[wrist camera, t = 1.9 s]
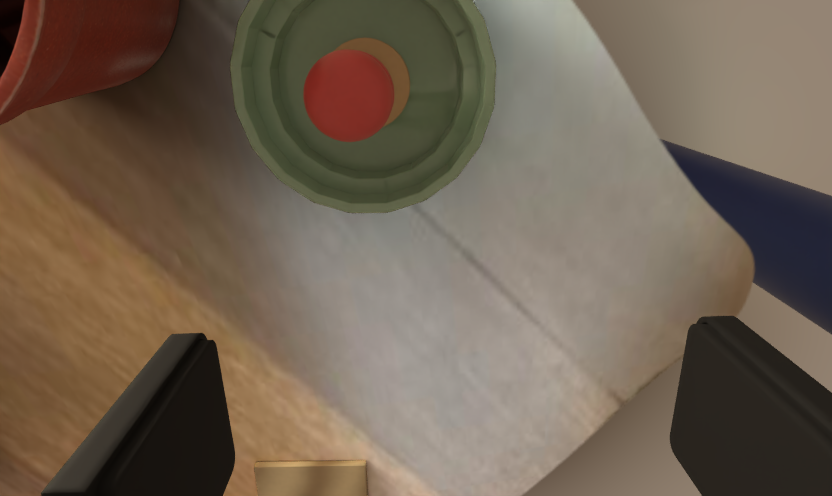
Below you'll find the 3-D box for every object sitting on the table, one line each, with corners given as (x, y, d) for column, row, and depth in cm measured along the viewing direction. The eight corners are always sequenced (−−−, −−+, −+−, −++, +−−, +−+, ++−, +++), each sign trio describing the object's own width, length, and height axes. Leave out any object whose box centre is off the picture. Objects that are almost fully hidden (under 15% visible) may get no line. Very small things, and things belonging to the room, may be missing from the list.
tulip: (409, 38, 32) (409, 27, 19) (410, 123, 34) (411, 166, 21) (326, 39, 32) (269, 28, 19) (331, 124, 34) (282, 167, 21)
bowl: (487, -47, 31) (501, -65, 26) (479, 191, 36) (490, 211, 31) (243, -45, 31) (213, -63, 26) (268, 193, 36) (247, 214, 31)
